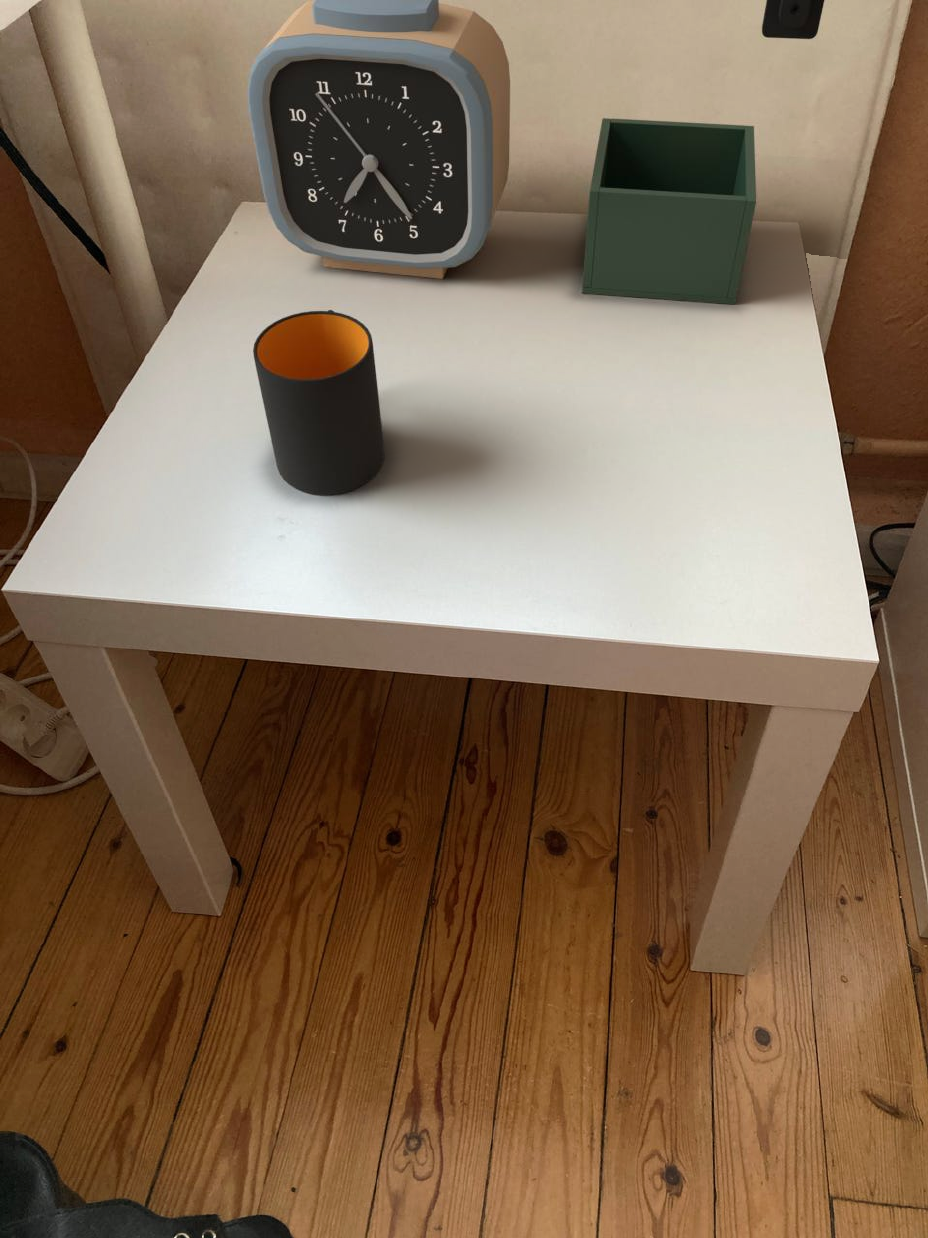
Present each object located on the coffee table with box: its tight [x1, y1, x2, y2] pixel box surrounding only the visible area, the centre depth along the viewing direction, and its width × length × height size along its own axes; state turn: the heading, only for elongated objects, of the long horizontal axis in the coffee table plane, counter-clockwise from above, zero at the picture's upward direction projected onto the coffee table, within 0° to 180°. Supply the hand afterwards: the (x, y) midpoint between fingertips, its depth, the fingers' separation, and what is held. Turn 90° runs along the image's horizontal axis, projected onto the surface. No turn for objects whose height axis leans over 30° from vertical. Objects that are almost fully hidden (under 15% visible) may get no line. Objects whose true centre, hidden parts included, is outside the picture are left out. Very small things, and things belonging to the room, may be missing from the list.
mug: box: [252, 309, 385, 496], centre depth 76 cm, size 8×12×10 cm
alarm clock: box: [246, 0, 511, 280], centre depth 89 cm, size 21×10×22 cm, turn 78°
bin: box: [581, 117, 757, 305], centre depth 92 cm, size 14×14×10 cm
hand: (786, 5), depth 64 cm, fingers open, 9 cm apart
